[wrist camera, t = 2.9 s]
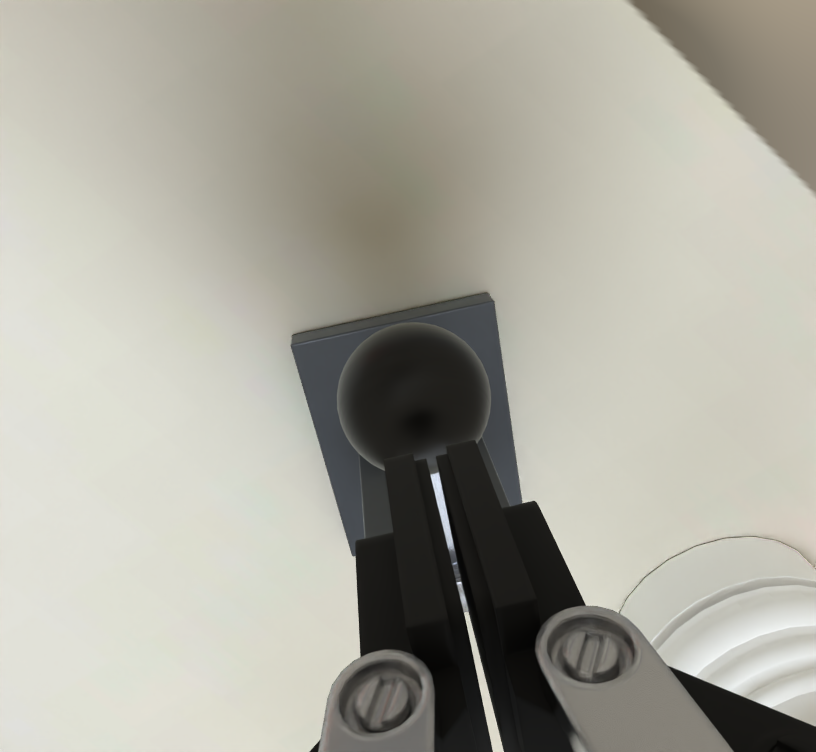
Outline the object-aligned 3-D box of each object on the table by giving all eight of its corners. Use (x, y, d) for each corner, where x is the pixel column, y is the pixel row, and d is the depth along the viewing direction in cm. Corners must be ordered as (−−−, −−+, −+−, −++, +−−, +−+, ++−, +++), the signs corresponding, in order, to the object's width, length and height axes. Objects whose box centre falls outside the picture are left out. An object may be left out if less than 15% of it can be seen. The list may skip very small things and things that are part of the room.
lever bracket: (291, 334, 30) (270, 486, 19) (488, 291, 30) (576, 419, 19) (351, 542, 35) (361, 751, 24) (518, 505, 35) (600, 697, 25)
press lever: (314, 308, 15) (330, 436, 13) (466, 276, 15) (508, 396, 13) (394, 548, 26) (411, 642, 23) (485, 527, 26) (511, 619, 23)
